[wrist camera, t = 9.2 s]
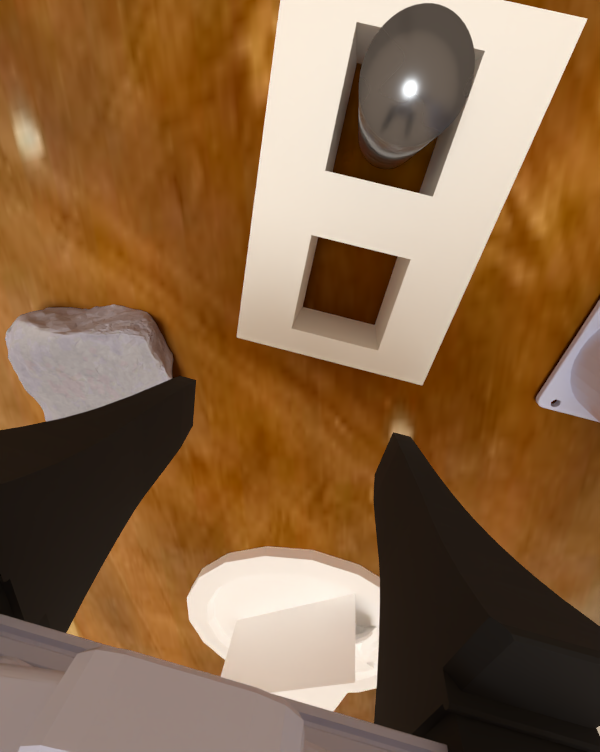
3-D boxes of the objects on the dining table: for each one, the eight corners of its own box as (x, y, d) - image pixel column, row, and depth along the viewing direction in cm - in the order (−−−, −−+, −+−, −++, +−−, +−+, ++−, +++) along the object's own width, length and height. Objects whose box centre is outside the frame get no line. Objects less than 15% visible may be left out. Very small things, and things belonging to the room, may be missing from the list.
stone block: (173, 296, 24) (27, 301, 24) (151, 319, 20) (-28, 326, 19) (201, 431, 30) (84, 437, 29) (188, 471, 25) (51, 478, 25)
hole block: (531, 63, 14) (587, 18, 11) (411, 354, 21) (422, 385, 18) (303, 11, 15) (286, -48, 11) (256, 314, 21) (236, 337, 18)
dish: (323, 698, 45) (314, 840, 35) (157, 610, 41) (93, 742, 31) (474, 633, 34) (524, 814, 24) (266, 503, 30) (220, 655, 20)
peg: (433, 102, 16) (497, 20, 8) (407, 176, 17) (443, 159, 10) (370, 84, 16) (381, -13, 9) (350, 159, 17) (344, 130, 10)
